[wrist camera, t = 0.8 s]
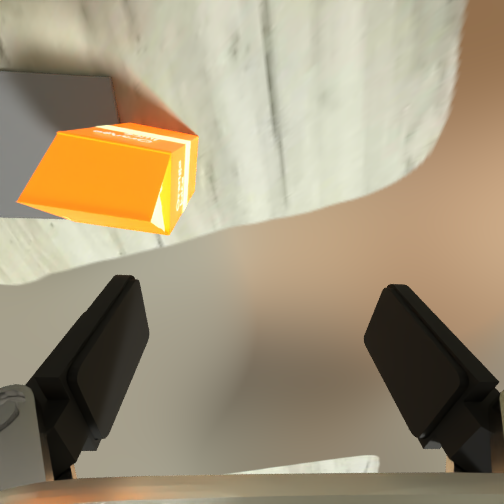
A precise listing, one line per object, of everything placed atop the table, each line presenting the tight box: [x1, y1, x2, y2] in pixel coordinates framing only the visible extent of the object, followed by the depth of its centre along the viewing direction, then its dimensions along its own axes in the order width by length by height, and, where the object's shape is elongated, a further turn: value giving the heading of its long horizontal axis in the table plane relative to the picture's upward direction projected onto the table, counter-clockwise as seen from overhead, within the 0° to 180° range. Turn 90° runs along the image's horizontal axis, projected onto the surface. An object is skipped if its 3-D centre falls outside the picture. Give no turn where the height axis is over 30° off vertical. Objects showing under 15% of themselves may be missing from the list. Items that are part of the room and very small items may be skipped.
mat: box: [0, 71, 120, 219], centre depth 33 cm, size 18×23×1 cm
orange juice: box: [15, 123, 198, 235], centre depth 25 cm, size 8×9×20 cm
